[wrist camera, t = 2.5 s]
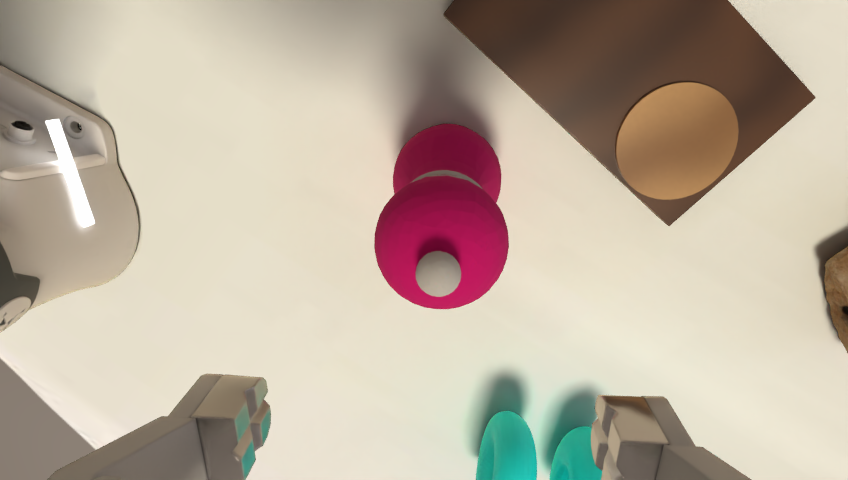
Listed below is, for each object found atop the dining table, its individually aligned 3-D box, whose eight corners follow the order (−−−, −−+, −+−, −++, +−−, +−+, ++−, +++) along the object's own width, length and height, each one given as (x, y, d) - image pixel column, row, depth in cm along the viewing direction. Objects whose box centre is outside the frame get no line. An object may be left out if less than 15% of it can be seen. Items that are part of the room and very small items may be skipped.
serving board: (443, 16, 33) (442, 14, 31) (575, -153, 29) (582, -165, 27) (661, 220, 37) (670, 228, 35) (801, 95, 33) (819, 98, 32)
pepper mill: (504, 123, 35) (555, 203, 17) (488, 216, 38) (516, 377, 19) (405, 110, 35) (346, 176, 17) (396, 204, 38) (336, 352, 19)
